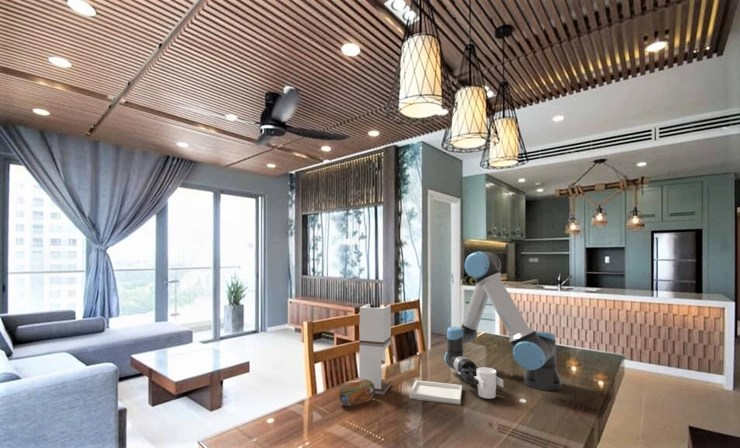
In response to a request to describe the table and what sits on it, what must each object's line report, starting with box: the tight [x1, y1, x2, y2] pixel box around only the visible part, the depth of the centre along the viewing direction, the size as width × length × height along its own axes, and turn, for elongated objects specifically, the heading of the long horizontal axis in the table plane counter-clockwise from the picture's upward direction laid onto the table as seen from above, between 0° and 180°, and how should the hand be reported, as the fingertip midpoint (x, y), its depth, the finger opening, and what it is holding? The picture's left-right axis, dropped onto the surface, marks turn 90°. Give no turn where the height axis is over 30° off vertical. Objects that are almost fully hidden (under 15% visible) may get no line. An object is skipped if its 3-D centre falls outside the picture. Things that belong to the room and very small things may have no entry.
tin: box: [337, 379, 375, 407], centre depth 142 cm, size 15×3×8 cm, turn 118°
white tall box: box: [358, 303, 392, 396], centre depth 158 cm, size 11×11×35 cm
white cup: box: [476, 366, 497, 400], centre depth 148 cm, size 8×8×10 cm
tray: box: [408, 379, 463, 406], centre depth 151 cm, size 20×16×2 cm
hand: (493, 384), depth 144 cm, fingers closed on white cup, 7 cm apart
